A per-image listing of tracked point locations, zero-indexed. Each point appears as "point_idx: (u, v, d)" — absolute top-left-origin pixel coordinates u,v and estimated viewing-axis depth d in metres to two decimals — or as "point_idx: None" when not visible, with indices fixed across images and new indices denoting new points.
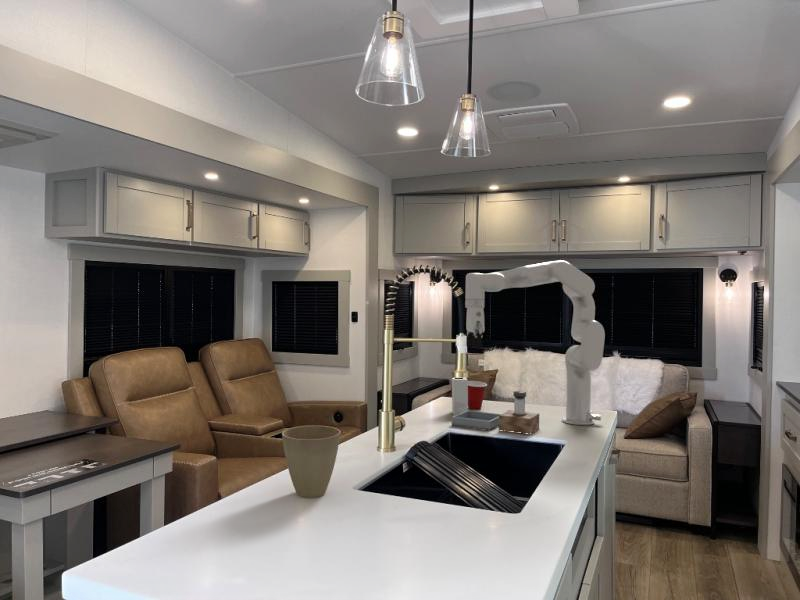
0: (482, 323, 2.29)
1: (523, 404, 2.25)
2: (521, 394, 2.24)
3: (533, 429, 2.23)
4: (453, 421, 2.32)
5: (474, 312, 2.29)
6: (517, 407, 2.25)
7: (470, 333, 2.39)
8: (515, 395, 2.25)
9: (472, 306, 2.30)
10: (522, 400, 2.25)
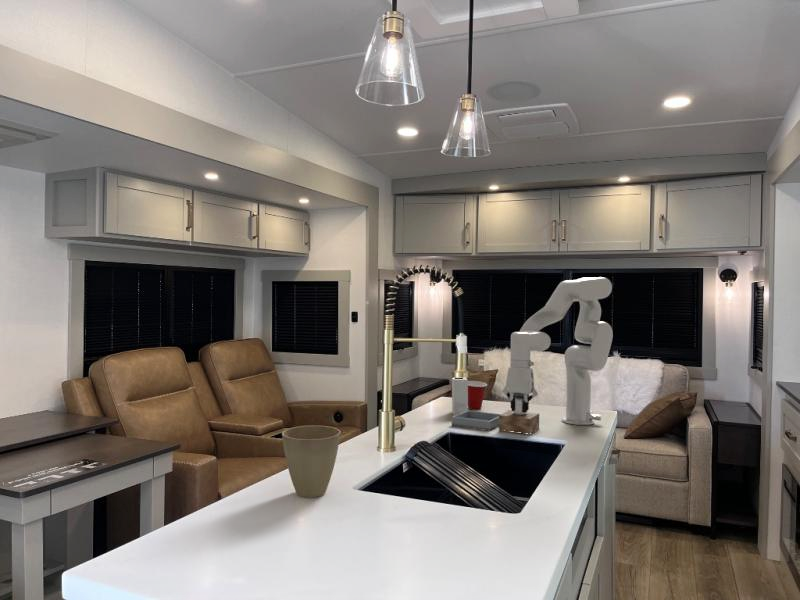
0: (533, 384, 2.26)
1: None
2: (521, 394, 2.24)
3: (533, 429, 2.23)
4: (453, 421, 2.32)
5: (530, 373, 2.23)
6: (517, 407, 2.25)
7: (512, 397, 2.28)
8: (515, 395, 2.25)
9: (526, 367, 2.23)
10: (522, 400, 2.25)
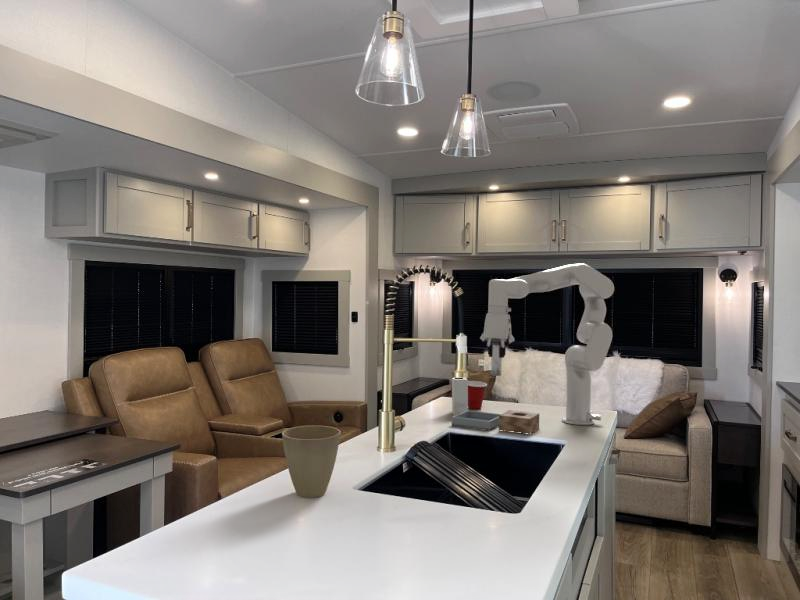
0: (510, 330, 2.30)
1: None
2: (498, 339, 2.29)
3: (533, 429, 2.23)
4: (453, 421, 2.32)
5: (507, 319, 2.28)
6: (494, 352, 2.30)
7: None
8: (492, 341, 2.30)
9: (503, 313, 2.28)
10: (499, 345, 2.29)
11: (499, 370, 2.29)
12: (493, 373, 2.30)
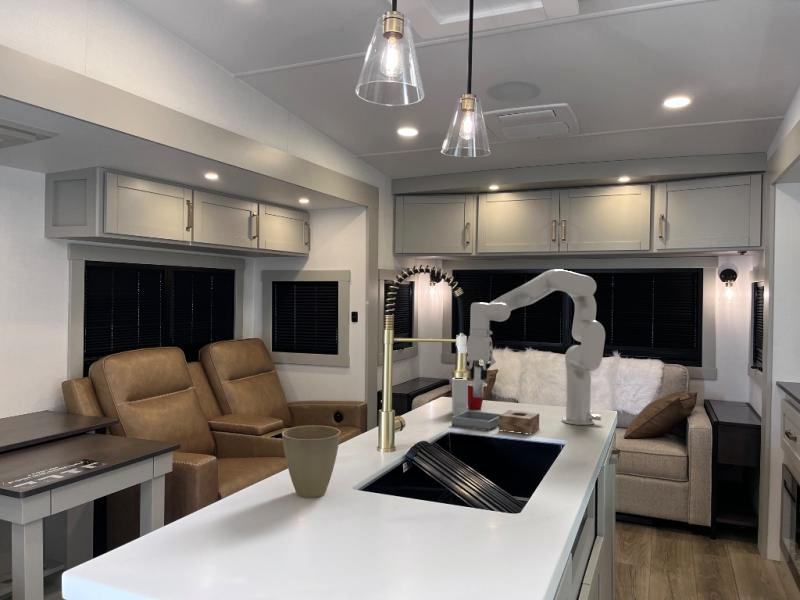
0: (492, 352, 2.34)
1: None
2: None
3: (533, 429, 2.23)
4: (453, 421, 2.32)
5: (488, 342, 2.31)
6: (475, 375, 2.33)
7: None
8: (474, 363, 2.34)
9: (485, 336, 2.32)
10: (481, 368, 2.33)
11: (481, 392, 2.33)
12: (475, 395, 2.34)
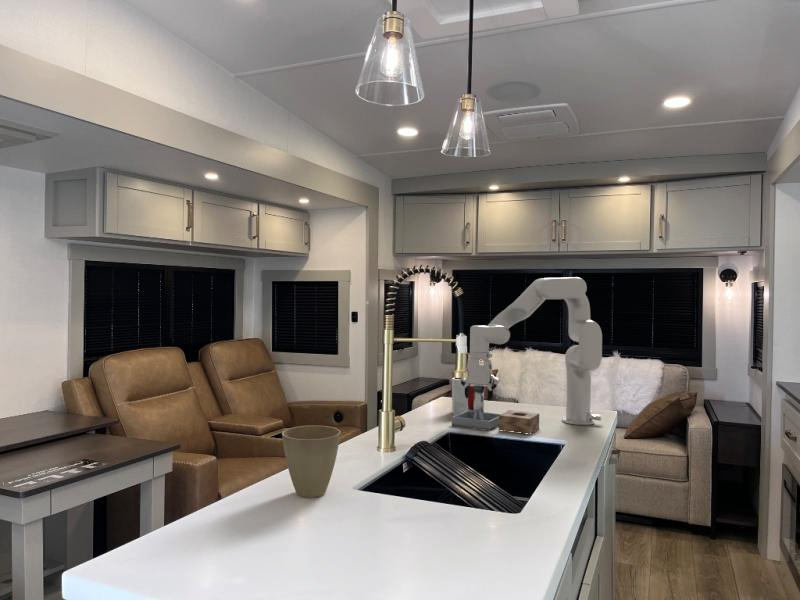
0: (492, 375, 2.34)
1: (482, 397, 2.34)
2: (480, 388, 2.33)
3: (533, 429, 2.23)
4: (453, 421, 2.32)
5: (488, 365, 2.32)
6: (476, 400, 2.34)
7: None
8: (474, 389, 2.34)
9: (484, 359, 2.32)
10: (481, 394, 2.33)
11: (481, 418, 2.34)
12: None
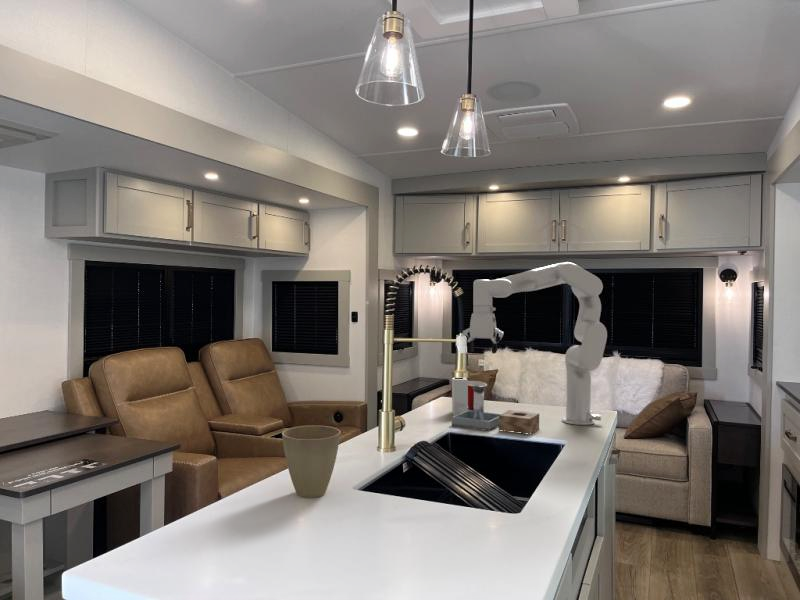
0: None
1: (482, 397, 2.34)
2: (480, 388, 2.33)
3: (533, 429, 2.23)
4: (453, 421, 2.32)
5: (491, 318, 2.33)
6: (476, 400, 2.34)
7: None
8: (474, 389, 2.34)
9: (488, 312, 2.33)
10: (481, 394, 2.33)
11: (481, 418, 2.34)
12: None
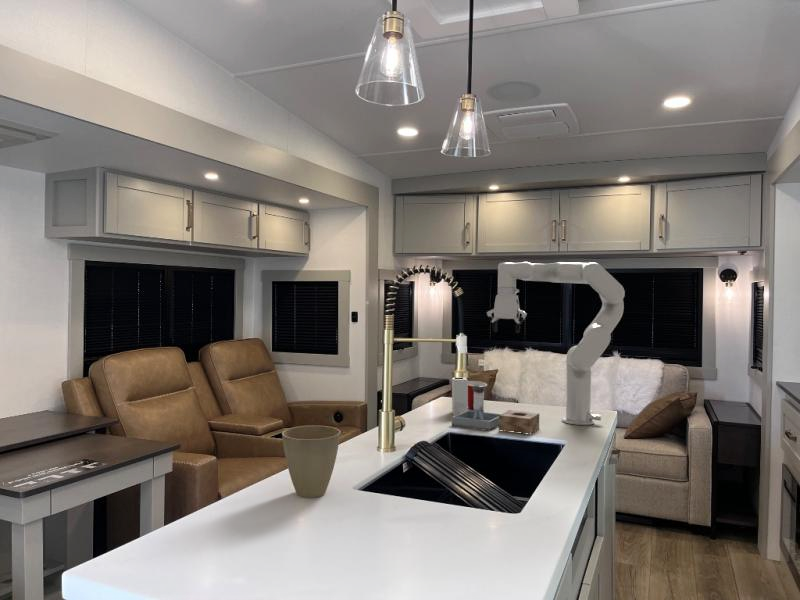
0: None
1: (482, 397, 2.34)
2: (480, 388, 2.33)
3: (533, 429, 2.23)
4: (453, 421, 2.32)
5: (515, 299, 2.44)
6: (476, 401, 2.34)
7: None
8: (474, 389, 2.34)
9: (512, 294, 2.44)
10: (481, 394, 2.33)
11: (481, 418, 2.34)
12: None
